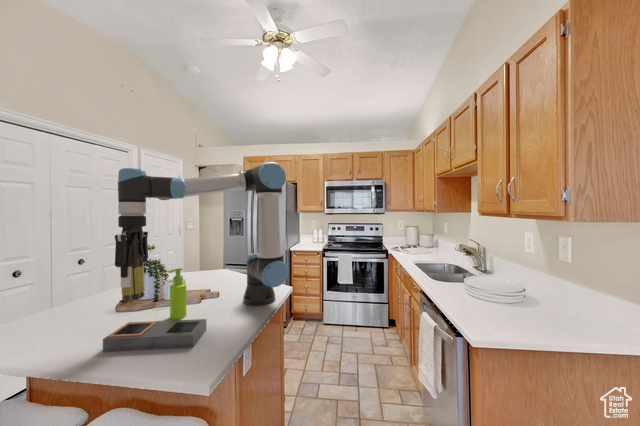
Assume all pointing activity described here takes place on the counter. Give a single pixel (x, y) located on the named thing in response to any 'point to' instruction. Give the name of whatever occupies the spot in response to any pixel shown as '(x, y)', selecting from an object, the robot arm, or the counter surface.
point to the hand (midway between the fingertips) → (132, 283)
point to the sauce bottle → (135, 276)
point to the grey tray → (155, 335)
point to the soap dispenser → (177, 296)
